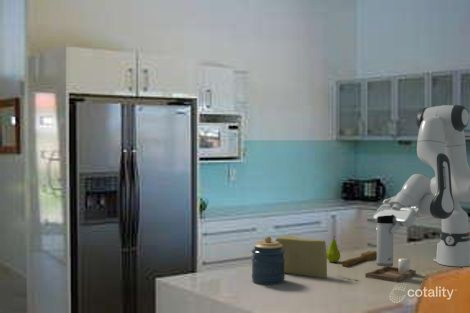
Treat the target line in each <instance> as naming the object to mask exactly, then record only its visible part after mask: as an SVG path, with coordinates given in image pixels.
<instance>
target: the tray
mask: <svg viewBox="0 0 470 313" xmlns="http://www.w3.org/2000/svg"><path fill="white" fill-rule="evenodd" d="M416 273H417V270H416V269H410V272H407V273H405V274H402V275H399V274H398V266H390V267H385V266H381V267H380V268H377V269H374V270H372V271H368V272H365V277H364V278H368V279H374V280H380V281H385V282H392V283H398V282H401V281H403V280H405V279H407V278H410V277H413V276H415V275H417V274H416Z"/></svg>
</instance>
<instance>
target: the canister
mask: <svg viewBox="0 0 470 313" xmlns="http://www.w3.org/2000/svg"><path fill="white" fill-rule="evenodd" d="M282 246H283V245H282V244H280V243H279V242H278V241H276V240H272V237H271V236H269V235H267V236H266V237H265V238H264V240H259V241H257V242H256V243H254V244H253V247H254V248H253V249H252V250H251V253H252V258H251V280H252V282H253V283H255V284H259V285H278V284H282V283H284V282H285V279H286V277H285V276H286V273H284V261H285V259H284V257H283V254H284V253H285V251H284V250H283V249H282V248H281V247H282Z"/></svg>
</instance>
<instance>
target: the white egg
mask: <svg viewBox="0 0 470 313" xmlns="http://www.w3.org/2000/svg"><path fill="white" fill-rule="evenodd" d="M397 262H398V263H397V264H398V266H397V268H398V274H399V275H402V274H405V273H407V272H410V268H411V267H410V266H411V265H410V262H411V260H410V259H409V258H406V257H402V258H398V261H397Z"/></svg>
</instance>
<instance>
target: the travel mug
mask: <svg viewBox="0 0 470 313" xmlns="http://www.w3.org/2000/svg"><path fill="white" fill-rule="evenodd" d="M377 220H378V221H377V223H376V224H377V225H376V228H377V231H376V252H377V256H376V265H377V266H378V267H384V266H385V267H394V234H391V233H390V232H389V229H390V228H392V227H393V215H388V216H379V217H377Z"/></svg>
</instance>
